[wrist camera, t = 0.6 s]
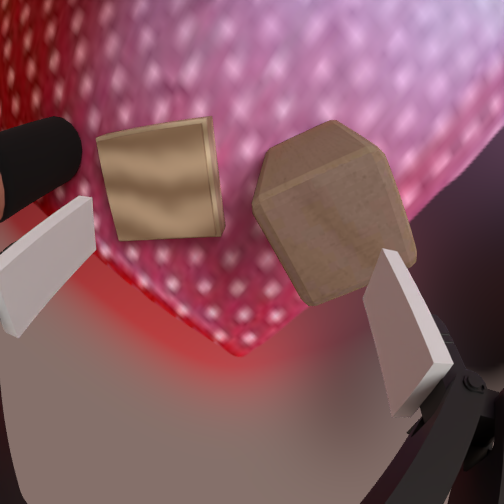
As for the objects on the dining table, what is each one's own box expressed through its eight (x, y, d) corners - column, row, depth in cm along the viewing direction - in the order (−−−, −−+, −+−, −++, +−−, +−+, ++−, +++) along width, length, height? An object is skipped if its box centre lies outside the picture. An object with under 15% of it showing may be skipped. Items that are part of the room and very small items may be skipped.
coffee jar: (53, 101, 37) (-38, 125, 21) (97, 143, 40) (10, 184, 24) (26, 154, 41) (-54, 194, 25) (66, 195, 44) (-11, 249, 28)
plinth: (107, 133, 39) (92, 138, 35) (212, 116, 37) (204, 119, 34) (128, 231, 46) (116, 243, 42) (225, 226, 44) (220, 239, 41)
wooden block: (298, 216, 42) (306, 314, 25) (263, 150, 39) (244, 206, 21) (367, 186, 39) (423, 267, 22) (335, 116, 36) (383, 143, 18)
